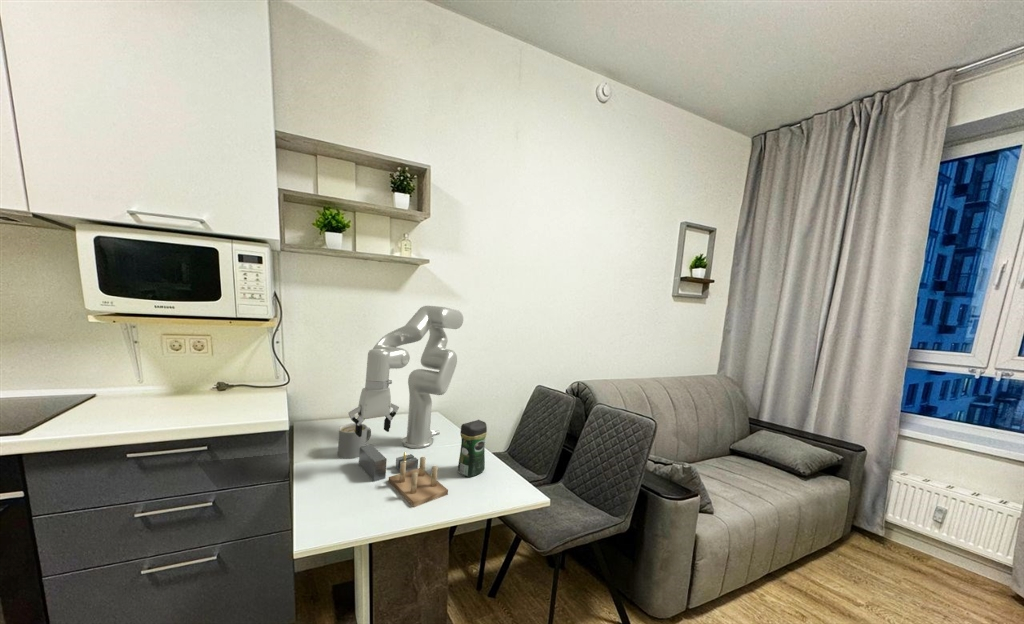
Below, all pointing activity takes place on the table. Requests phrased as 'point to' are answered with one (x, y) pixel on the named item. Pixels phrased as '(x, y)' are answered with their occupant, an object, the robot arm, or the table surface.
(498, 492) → the table surface
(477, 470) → the coffee jar
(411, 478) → the rack
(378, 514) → the table surface
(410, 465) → the slot block
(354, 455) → the coffee mug
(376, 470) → the steel bar
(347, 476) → the table surface
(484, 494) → the table surface
